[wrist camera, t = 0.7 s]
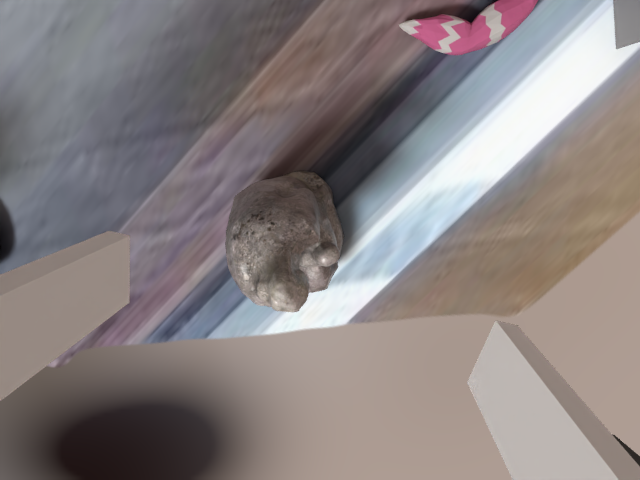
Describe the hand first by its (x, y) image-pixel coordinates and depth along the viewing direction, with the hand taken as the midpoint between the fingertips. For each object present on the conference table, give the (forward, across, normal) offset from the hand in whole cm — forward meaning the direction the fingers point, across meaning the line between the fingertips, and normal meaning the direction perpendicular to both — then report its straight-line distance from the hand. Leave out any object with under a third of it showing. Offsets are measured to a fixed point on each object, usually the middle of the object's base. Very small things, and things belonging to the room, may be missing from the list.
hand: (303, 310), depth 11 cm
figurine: (+24, -3, -4) cm, 25 cm away
